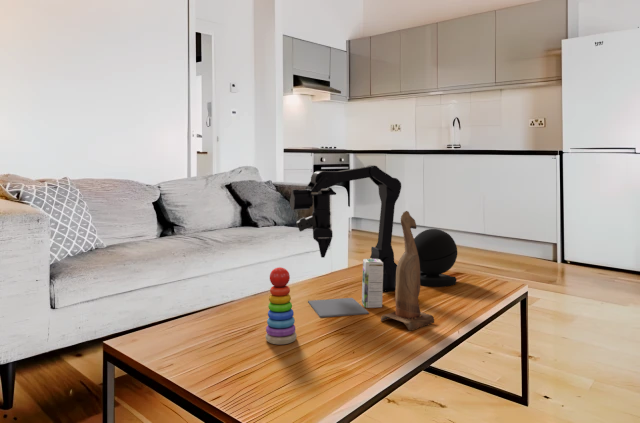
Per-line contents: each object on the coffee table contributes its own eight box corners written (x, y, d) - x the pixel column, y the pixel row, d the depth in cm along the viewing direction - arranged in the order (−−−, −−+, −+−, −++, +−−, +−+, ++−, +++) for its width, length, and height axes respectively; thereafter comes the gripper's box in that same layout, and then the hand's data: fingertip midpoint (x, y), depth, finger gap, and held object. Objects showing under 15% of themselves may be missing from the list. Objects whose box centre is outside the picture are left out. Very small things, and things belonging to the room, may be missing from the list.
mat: (352, 299, 163) (352, 297, 163) (368, 313, 147) (368, 312, 147) (308, 302, 159) (308, 300, 159) (320, 317, 144) (320, 315, 144)
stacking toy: (301, 336, 128) (301, 265, 126) (289, 347, 121) (289, 272, 119) (273, 333, 131) (272, 263, 129) (260, 343, 123) (259, 270, 121)
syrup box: (361, 302, 158) (361, 258, 157) (379, 302, 159) (380, 258, 157) (364, 308, 153) (365, 262, 151) (383, 307, 153) (383, 261, 152)
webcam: (465, 284, 182) (467, 230, 180) (426, 288, 176) (428, 233, 174) (437, 274, 198) (438, 225, 196) (400, 278, 192) (401, 227, 190)
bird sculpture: (436, 324, 139) (440, 211, 137) (410, 332, 131) (413, 213, 129) (404, 315, 148) (408, 208, 145) (378, 322, 140) (381, 210, 137)
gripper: (298, 206, 174) (299, 249, 175) (296, 212, 155) (297, 261, 157) (329, 205, 174) (330, 249, 176) (332, 211, 155) (332, 260, 157)
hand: (322, 254), depth 166 cm, fingers open, 9 cm apart
